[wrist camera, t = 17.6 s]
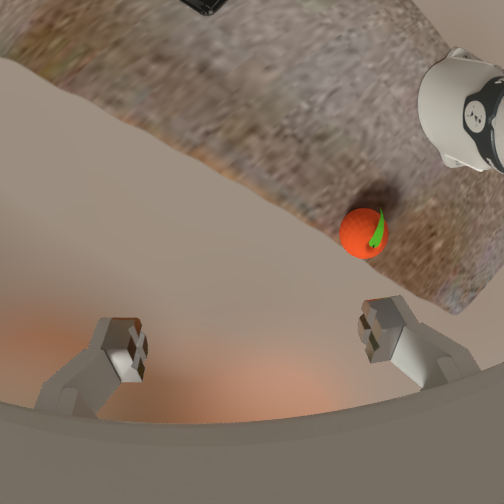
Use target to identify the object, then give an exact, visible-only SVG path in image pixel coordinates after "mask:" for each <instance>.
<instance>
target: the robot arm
mask: <svg viewBox="0 0 504 504" xmlns="http://www.w3.org/2000/svg"><path fill="white" fill-rule="evenodd" d="M464 56H465V58H464ZM418 113H419V118H420V122H421V125H422V128H423V130H424V132H425V134H426V136H427V137H428V139H429V140H430V141H431V142H432V143H433V144H434V145H435V146H436V147H437V149H438V150H439V152H440V155H441V157H442V160H443V162H444V164H445V165H446V166H448V167H450V168H455V167H460V166H466V165H467V166H469V167H471V168H473V169H475V170H477V171H481V172H482V171H483V170H488V169H491V168H494V169H495V170H497V171H498V172H500V173H502V174H504V70H502V68H501V67H500V66H497V65H493V64H491V63H488V62H484V61H482V60H480V59H479V58H477V57H476V56H474V55H473V54H471V53H470V52H468V51H466V50H465V49H463V48H460V47H453V48H452V49H451V51H450V52H449V54H448V55H447V57H446V58H445V59H444V60H442V61H441V62H439V63H437V64H435V65H434V66H433V67H432V68H431V69H430V70H429V71H428V72H427V73H426V75H425V77H424V79H423V81H422V83H421V86H420V90H419V95H418ZM362 311H363V314H362V316H360V318H359V322H358V333H359V337H360V339H361V342H363V343H364V344H366V348H365V352H366V354H367V356H368V359H369V361H370V363H376V362H381V361H388V360H391V362H392V363H393V364H395V365H396V366H397V367H398V368H399V369H401V370H402V371H403V372H404V373H405V374H406V375H408V376H409V377H410V378H411V379H413V380H414V381H415V382H416V383H417V384H418V385H420V386H421V387H422V389H421V390H420V392H417V393H413V394H410V395H406V396H402V397H398V398H394V399H391V400H386V401H382V402H378V403H373V404H368V405H364V406H359V407H354V408H349V409H344V410H338V411H333V412H327V413H321V414H314V415H307V416H300V417H292V418H284V419H274V420H263V421H251V422H235V423H212V424H164V423H161V424H160V423H140V422H125V421H113V420H103V419H98V418H97V416H96V415H95V414H96V413H97V412H98V411H99V409H100V408H101V407H102V406H103V405H104V403H105V402H106V401H107V400H108V399H109V397H110V396H111V395H112V394H113V392H114V391H115V390H116V389H117V388H118V386H119V385H120V384H121V382H142V381H143V376H144V371H145V367H144V364H143V361H145V360H146V359H147V355H148V343H147V338H146V335H145V334H144V333H143V332H142V331H141V328H142V324H141V321H140V319H139V318H100V319H99V320H98V322H97V325H96V328H95V330H94V333H93V336H92V338H91V341H90V343H89V346H88V349H84V350H82V351H81V352H80V353H79V354H78V355H76V356H75V357H74V358H73V359H72V360H70V361H69V362H68V363H67V364H66V365H65V366H63V367H62V368H61V369H60V370H59V371H57V372H56V373H55V374H54V375H53V376H52V377H50V378H49V379H48V380H47V381H46V382H44V383H43V385H42V388H41V390H40V393H39V396H38V399H37V402H36V404H35V407H34V409H32V408H27V407H22V406H18V405H13V404H9V403H5V402H1V401H0V504H504V362H503V363H500V364H498V365H496V366H493V367H491V368H488V369H486V370H483V371H481V370H480V368H479V366H478V365H477V363H476V361H475V360H474V358H473V357H472V355H471V353H470V352H469V350H468V349H467V348H465V347H463V346H461V345H460V344H458V343H456V342H455V341H453V340H451V339H450V338H448V337H446V336H444V335H443V334H441V333H439V332H437V331H436V330H434V329H432V328H431V327H429V326H427V325H426V324H424V323H419V322H418V320H417V319H416V317H415V316H414V314H413V312H412V311H411V309H410V308H409V306H408V305H407V303H406V301H405V300H404V298H403V297H402V296H400V295H399V296H392V297H387V298H380V299H372V300H365V301H364V302H363V305H362Z"/></svg>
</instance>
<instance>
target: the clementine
mask: <svg viewBox="0 0 504 504" xmlns="http://www.w3.org/2000/svg"><path fill="white" fill-rule="evenodd" d="M380 210H381V207H380ZM388 235H389V233H388V226H387V224H386V222H385V220H384V217H383V212H382V210H381V215H380V214H379V213H378V212H376V211H374V210H372V209H367V208H359V209H355V210H353V211H351V212H350V213H348V214H347V215H346V216H345V217H344V219H343V221H342V222H341V226H340V230H339V237H340V240H341V243H342V246H343V247H344V249H345V250H346V251H347V252H348V253H349V254H351V255H352V256H355V257H357V258H361V259H367V258H372V257H374V256H376V255H378V254H379V253H380V252H381V251H382V250H383V249H384V247H385V246H386V244H387V241H388Z"/></svg>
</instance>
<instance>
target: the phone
mask: <svg viewBox="0 0 504 504" xmlns="http://www.w3.org/2000/svg"><path fill="white" fill-rule="evenodd" d="M180 1H181V2H183V3H185V4H186V5H188V6H189V7H191V8H192V9H194V10H195V11H197V12H199V13H200V14H202V15H204V16H210V15H212V14H214V13H215V12H216V11H217V10H218V9H219V8H220V7H221V6H222V5H223V4H224V3H225V2H226V1H227V0H180Z"/></svg>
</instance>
